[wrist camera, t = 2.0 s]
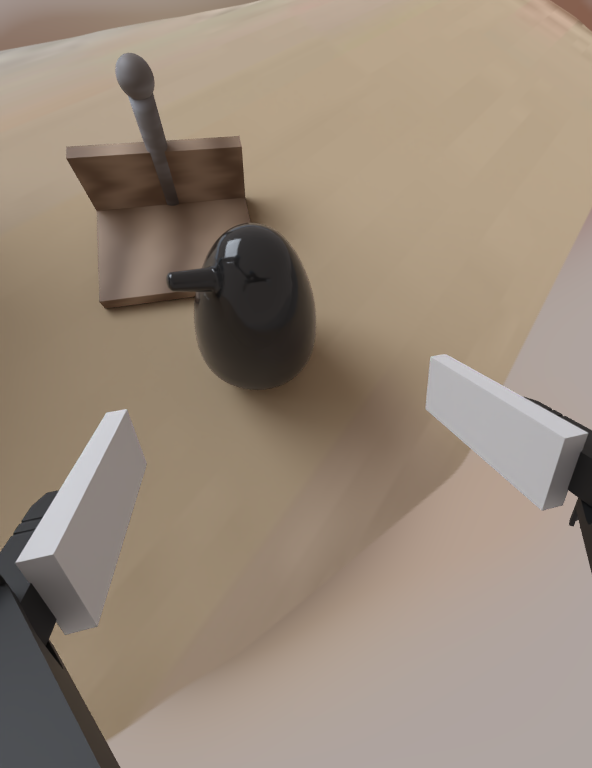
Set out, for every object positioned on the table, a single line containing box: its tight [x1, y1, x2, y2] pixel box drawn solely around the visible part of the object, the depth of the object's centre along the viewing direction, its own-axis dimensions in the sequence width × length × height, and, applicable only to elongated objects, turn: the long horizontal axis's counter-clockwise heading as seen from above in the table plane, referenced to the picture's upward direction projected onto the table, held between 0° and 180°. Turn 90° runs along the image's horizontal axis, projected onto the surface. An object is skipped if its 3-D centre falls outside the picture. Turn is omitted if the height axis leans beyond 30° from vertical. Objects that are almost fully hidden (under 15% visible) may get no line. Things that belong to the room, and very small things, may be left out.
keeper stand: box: [66, 53, 251, 308], centre depth 30 cm, size 16×14×14 cm
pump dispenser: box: [166, 223, 316, 390], centre depth 26 cm, size 10×10×15 cm
